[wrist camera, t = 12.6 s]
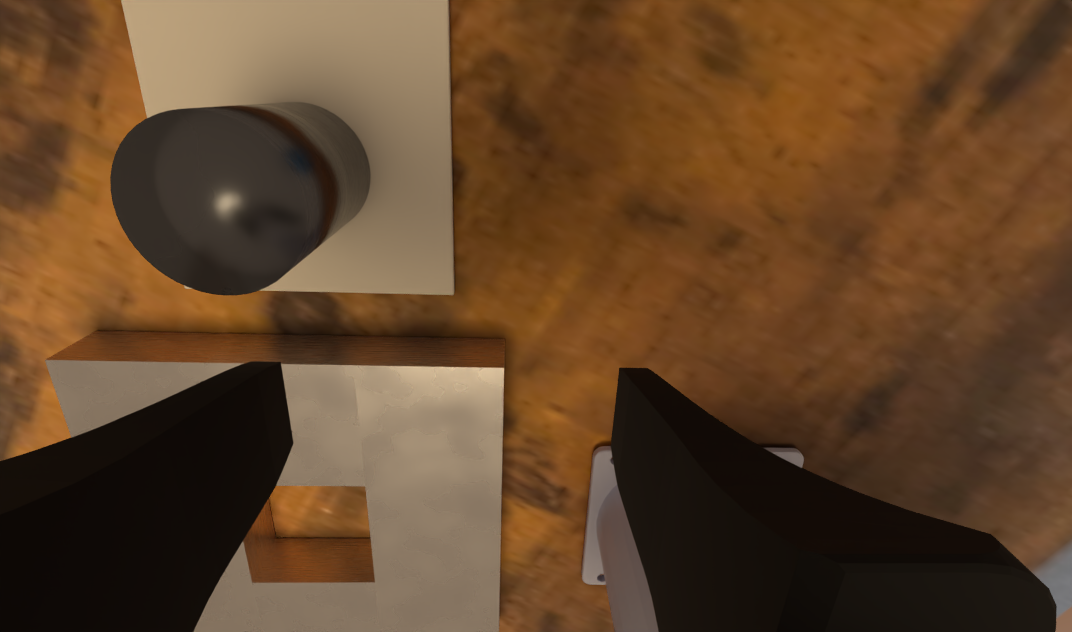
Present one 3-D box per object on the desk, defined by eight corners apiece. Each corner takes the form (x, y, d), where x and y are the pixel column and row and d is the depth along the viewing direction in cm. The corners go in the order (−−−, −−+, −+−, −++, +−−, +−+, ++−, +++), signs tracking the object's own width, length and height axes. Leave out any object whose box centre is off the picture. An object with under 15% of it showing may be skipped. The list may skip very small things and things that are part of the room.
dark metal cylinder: (367, 107, 18) (297, 116, 12) (373, 235, 20) (313, 299, 14) (231, 96, 18) (89, 101, 12) (248, 228, 19) (133, 290, 13)
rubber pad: (448, -3, 17) (447, -5, 17) (454, 291, 21) (453, 295, 21) (125, -19, 17) (116, -22, 16) (190, 285, 21) (184, 288, 20)
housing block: (504, 338, 22) (503, 367, 20) (499, 618, 28) (498, 665, 26) (95, 330, 21) (45, 359, 19) (181, 620, 27) (151, 669, 25)
